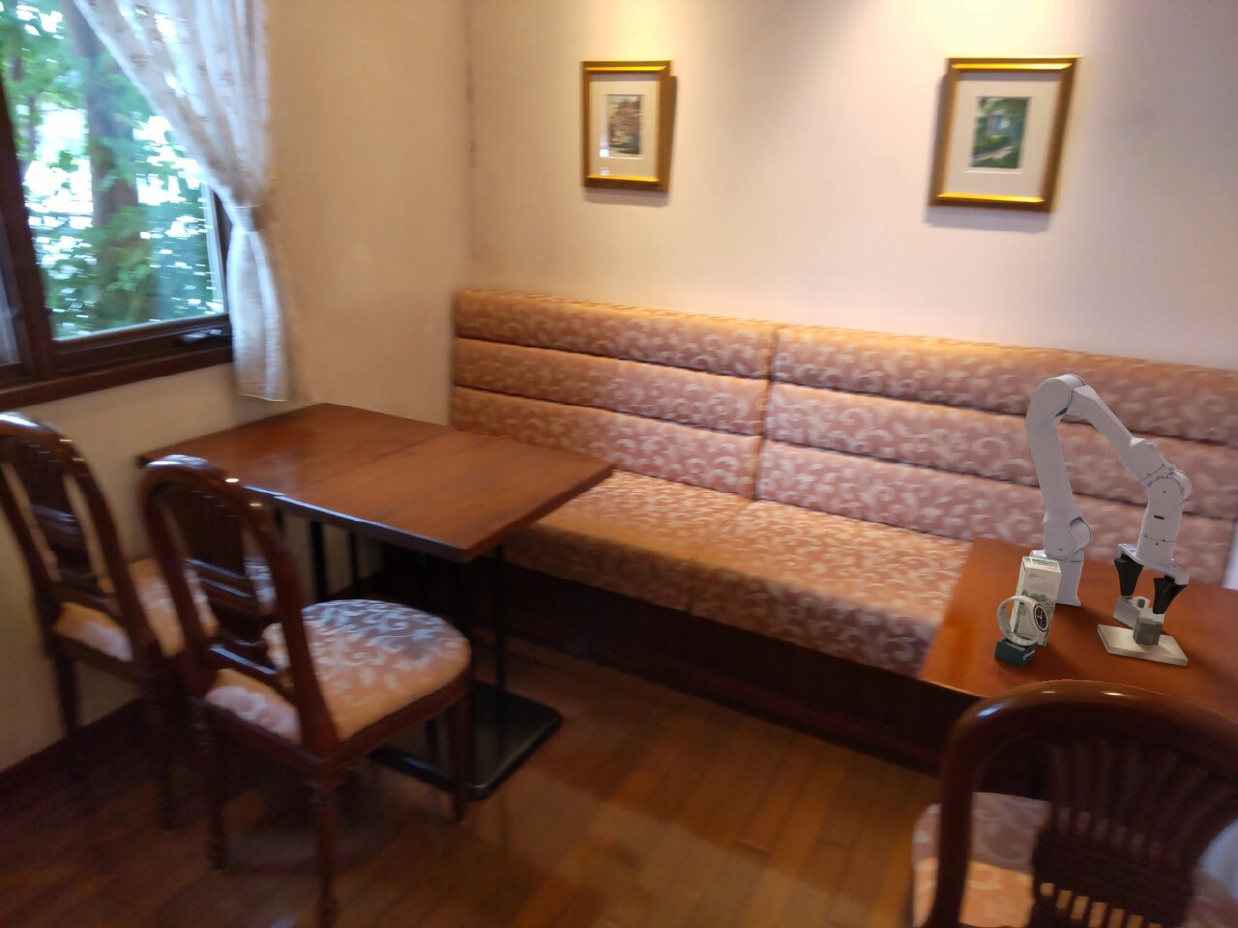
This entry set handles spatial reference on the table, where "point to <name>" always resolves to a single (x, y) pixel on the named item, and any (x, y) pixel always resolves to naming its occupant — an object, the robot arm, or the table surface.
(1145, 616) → the grey slotted channel block
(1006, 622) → the watch
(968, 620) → the table surface
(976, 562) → the table surface
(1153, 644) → the keyed post base
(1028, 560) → the syrup box
